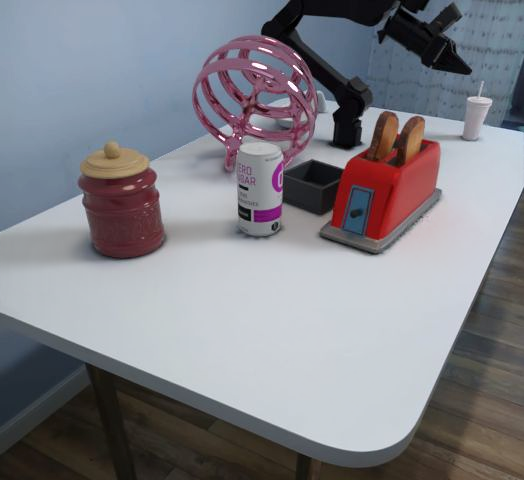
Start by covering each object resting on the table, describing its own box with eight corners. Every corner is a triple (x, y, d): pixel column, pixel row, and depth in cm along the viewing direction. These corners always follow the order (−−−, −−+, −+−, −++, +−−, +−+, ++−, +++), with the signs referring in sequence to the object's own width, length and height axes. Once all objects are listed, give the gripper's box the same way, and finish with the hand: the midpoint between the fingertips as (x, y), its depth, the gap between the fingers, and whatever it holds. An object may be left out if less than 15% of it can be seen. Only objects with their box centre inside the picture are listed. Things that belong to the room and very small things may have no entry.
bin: (276, 198, 104) (277, 173, 101) (310, 182, 111) (312, 158, 107) (320, 215, 99) (322, 189, 95) (353, 197, 105) (356, 172, 102)
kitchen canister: (163, 222, 96) (150, 126, 84) (168, 255, 86) (154, 153, 75) (94, 228, 94) (71, 131, 82) (91, 263, 84) (64, 159, 73)
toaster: (378, 257, 86) (398, 146, 74) (315, 236, 92) (324, 130, 80) (443, 195, 106) (468, 100, 94) (388, 181, 112) (404, 89, 99)
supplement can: (286, 221, 96) (289, 142, 87) (273, 241, 90) (275, 158, 81) (247, 215, 98) (246, 137, 89) (232, 234, 92) (228, 152, 83)
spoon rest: (302, 135, 135) (304, 107, 130) (265, 129, 140) (265, 101, 135) (336, 113, 151) (338, 87, 146) (301, 108, 155) (303, 82, 150)
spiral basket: (261, 105, 87) (302, -13, 94) (147, 122, 102) (189, 19, 108) (318, 198, 111) (348, 99, 117) (218, 201, 125) (250, 112, 131)
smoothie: (453, 134, 136) (467, 78, 127) (476, 134, 137) (491, 77, 128) (462, 142, 132) (477, 84, 122) (485, 141, 132) (502, 83, 123)
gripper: (430, -13, 97) (496, 31, 96) (439, -2, 112) (497, 36, 111) (395, 46, 103) (457, 87, 102) (409, 49, 118) (463, 86, 117)
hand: (470, 72), depth 108 cm, fingers open, 9 cm apart
